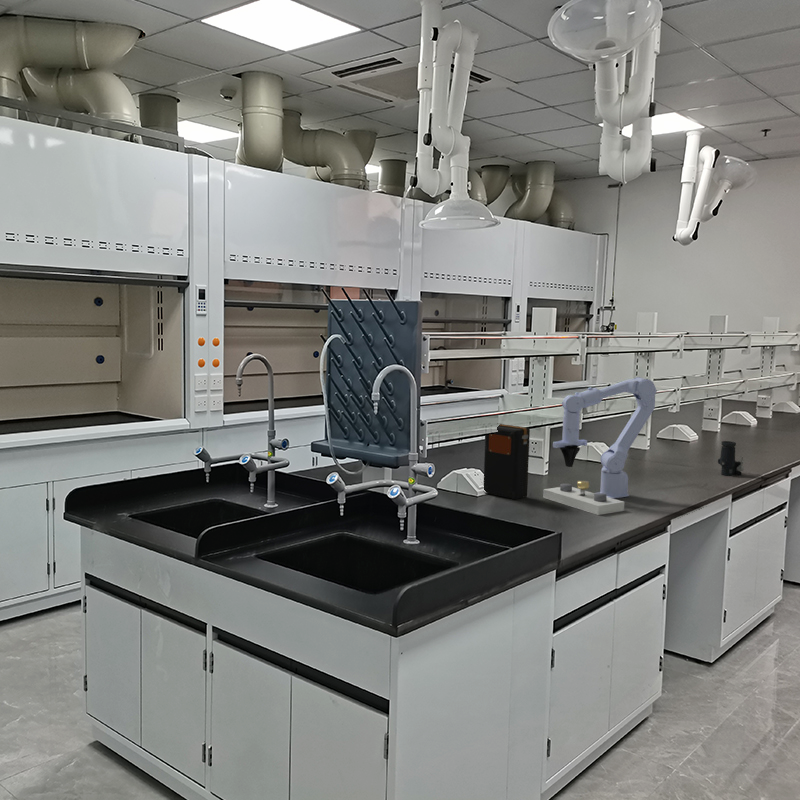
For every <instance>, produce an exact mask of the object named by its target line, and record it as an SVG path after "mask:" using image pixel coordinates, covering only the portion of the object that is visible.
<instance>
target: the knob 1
mask: <svg viewBox="0 0 800 800" xmlns="http://www.w3.org/2000/svg"><path fill="white" fill-rule="evenodd" d="M559 485H560V486H559V487H560V490H561V491H565V492H570V491H572V487H573V484H571V483H560V484H559Z"/></svg>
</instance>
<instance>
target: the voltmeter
mask: <svg viewBox="0 0 800 800" xmlns="http://www.w3.org/2000/svg"><path fill="white" fill-rule="evenodd" d="M499 424H500V425H499V426H498V427H497V430H498V432H496V433H494V434H489V435H484V458H483V459H484V461H483V463H484V464H483V465H484V466H483V486H484V490H485V491H486V492H487V493H486V494H490V495H494V496H495V495H496V496H499V497H503V498H509V499H512V500H518V499H520V498H525V499H526V498H527V497H528V488H529V487H528V484H529V483H528V482H529V481H528V479H529V477H528V476H529V459H530V435H531V433H530V431H531V429H530V428H529V427H525V426H519V425H512V424H511V425H509V424H503V423H499Z"/></svg>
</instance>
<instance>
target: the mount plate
mask: <svg viewBox="0 0 800 800" xmlns="http://www.w3.org/2000/svg"><path fill="white" fill-rule="evenodd" d="M580 490H581V489H580V488H577V487H573V486H572V491H570V492H565V491H561V490H560V486H557V487H552V488H551V487H550V488H543V492H542V493H543V494H542V498H543V499H547V500H550V501H553V502H555V503H559V504H562V505H565V506H569V507H572V508H575V509H577V510H578V509H579V510H581V511H584V512H588V513H590V514H594V515H597V516H602V515H606V514H612V513H619V512H624V511H625V501H622V500H619V499H617V498H614V499H613V498H609V497H607V500H606V502H598V501H595V500H594V494H595V493H596V492H591V491H588V490H585V496H580Z"/></svg>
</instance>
